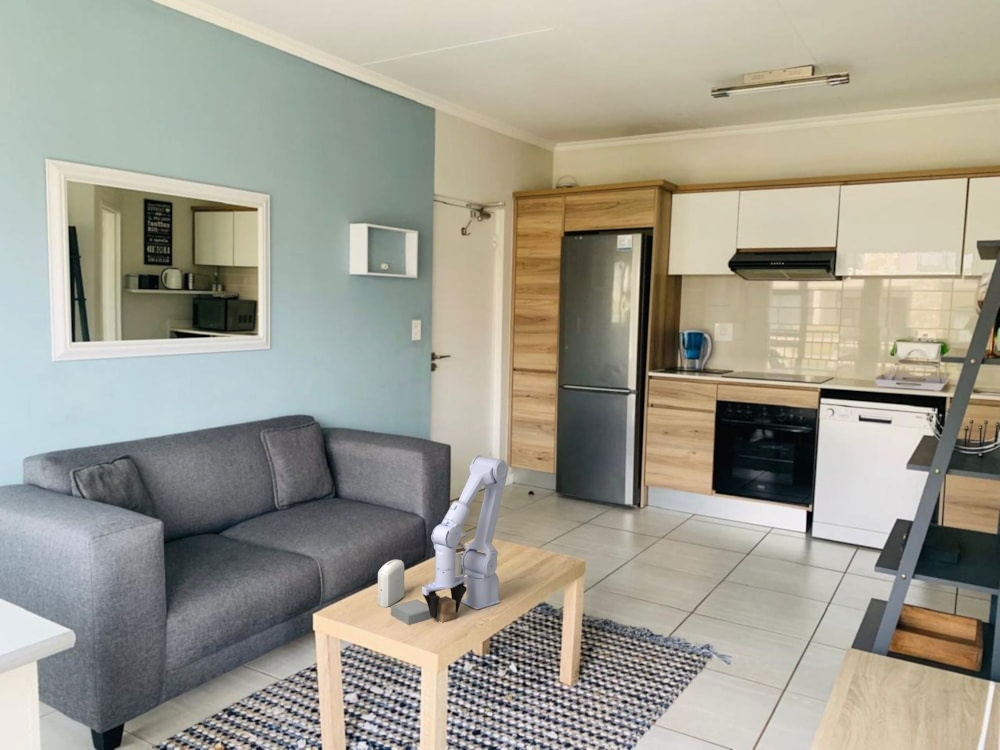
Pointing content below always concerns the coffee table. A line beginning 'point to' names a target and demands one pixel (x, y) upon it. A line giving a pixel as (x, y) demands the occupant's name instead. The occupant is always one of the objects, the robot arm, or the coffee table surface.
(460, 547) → the french press
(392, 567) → the photo printer
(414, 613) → the plinth
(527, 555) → the coffee table surface
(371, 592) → the coffee table surface
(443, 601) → the walnut block
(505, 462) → the robot arm
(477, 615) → the coffee table surface
